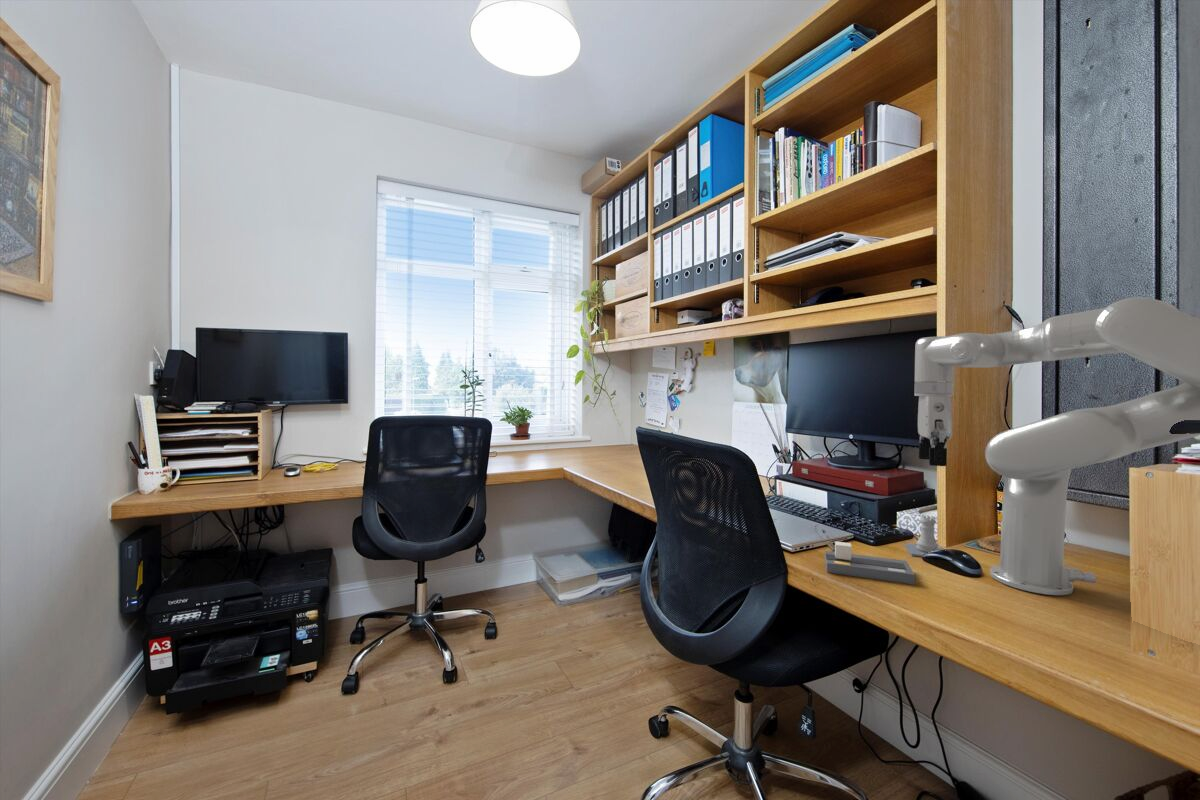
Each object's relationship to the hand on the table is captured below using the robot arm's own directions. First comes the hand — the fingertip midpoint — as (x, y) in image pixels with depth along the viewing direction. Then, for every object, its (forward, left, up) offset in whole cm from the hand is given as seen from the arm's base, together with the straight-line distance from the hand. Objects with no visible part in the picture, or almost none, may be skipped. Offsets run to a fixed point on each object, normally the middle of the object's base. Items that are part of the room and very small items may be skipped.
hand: (931, 462), depth 113 cm
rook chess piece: (0, 0, -21) cm, 21 cm away
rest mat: (0, 0, -22) cm, 22 cm away
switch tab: (+20, +18, -19) cm, 33 cm away
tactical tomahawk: (+21, 0, -22) cm, 31 cm away
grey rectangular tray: (+15, +18, -22) cm, 32 cm away
